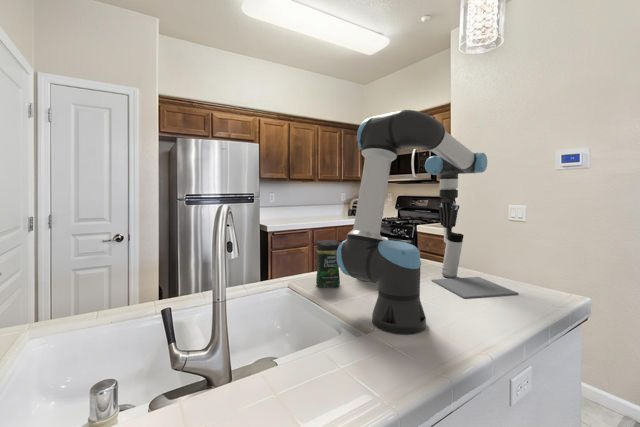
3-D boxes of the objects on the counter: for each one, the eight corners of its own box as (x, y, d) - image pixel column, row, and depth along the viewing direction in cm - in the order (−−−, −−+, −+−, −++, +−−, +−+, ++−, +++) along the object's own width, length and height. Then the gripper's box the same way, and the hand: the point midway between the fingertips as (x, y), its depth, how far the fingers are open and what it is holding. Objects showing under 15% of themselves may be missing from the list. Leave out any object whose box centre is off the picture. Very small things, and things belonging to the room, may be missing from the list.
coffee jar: (318, 289, 124) (317, 242, 123) (315, 283, 132) (314, 239, 130) (342, 287, 125) (341, 241, 124) (337, 281, 133) (337, 238, 132)
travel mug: (440, 276, 138) (447, 233, 132) (442, 270, 144) (449, 229, 138) (455, 279, 135) (463, 236, 130) (457, 273, 141) (464, 231, 135)
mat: (518, 294, 115) (518, 292, 115) (463, 298, 111) (463, 296, 111) (478, 278, 137) (478, 276, 136) (431, 281, 133) (431, 279, 133)
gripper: (465, 188, 132) (464, 244, 134) (448, 189, 145) (446, 239, 147) (449, 188, 131) (448, 244, 133) (433, 189, 144) (432, 240, 146)
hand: (447, 242), depth 140 cm, fingers closed
